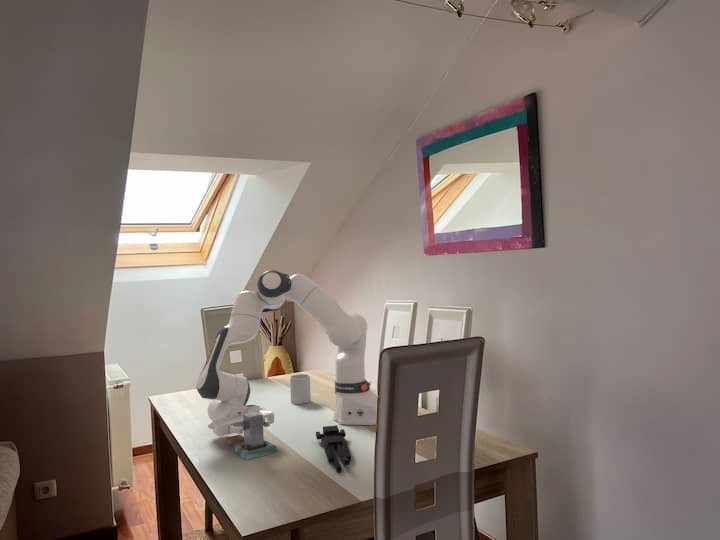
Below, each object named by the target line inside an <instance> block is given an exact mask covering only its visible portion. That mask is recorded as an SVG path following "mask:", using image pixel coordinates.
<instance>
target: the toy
mask: <svg viewBox="0 0 720 540" xmlns="http://www.w3.org/2000/svg"><path fill="white" fill-rule="evenodd" d="M315 437H316V440H320V442H321V445H322V447H323V450H324V453H325V455H326V458H327V462H328V463H329V464H330V463H332V464H333V465H334V469H335V471H336V472H337V473H339V472H342V465H341V464H343V465H344V466H349V465H350V461H352V456H351V452H350V447H349V444H348V442H347V440H346V439H345V437H346V431H345V429H343V428H342V429H340V430H339V427H338V425H327V426H322V433H321V432H320V431H316V432H315ZM336 450H337V452H338V456H339V459H340V461H339V460H338V456H337V453H336ZM340 462H341V463H340Z"/></svg>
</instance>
